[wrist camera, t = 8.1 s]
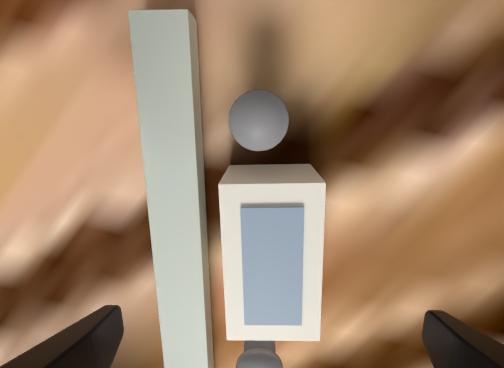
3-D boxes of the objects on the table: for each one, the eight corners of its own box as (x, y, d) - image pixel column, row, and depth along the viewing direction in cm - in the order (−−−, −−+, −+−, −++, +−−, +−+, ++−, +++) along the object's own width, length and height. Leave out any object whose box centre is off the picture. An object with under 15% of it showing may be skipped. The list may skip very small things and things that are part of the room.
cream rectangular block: (229, 164, 15) (217, 185, 11) (309, 163, 15) (326, 184, 11) (235, 286, 17) (226, 343, 13) (306, 286, 17) (320, 343, 13)
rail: (284, 18, 13) (291, -11, 10) (278, 382, 18) (281, 443, 15) (143, 21, 13) (104, -7, 10) (176, 379, 18) (157, 438, 15)
